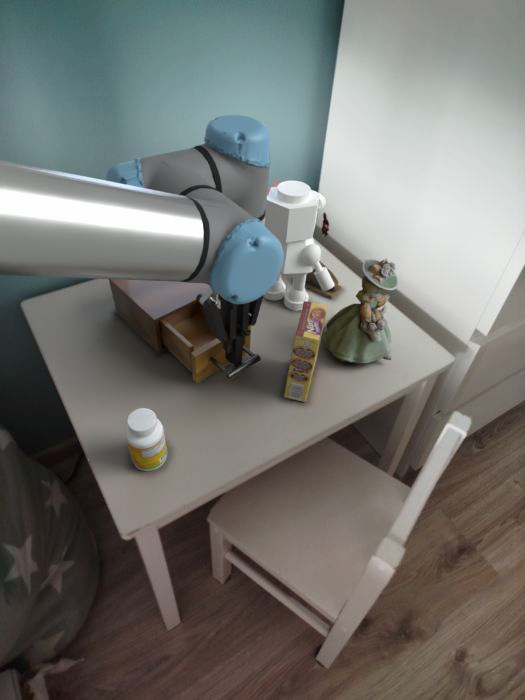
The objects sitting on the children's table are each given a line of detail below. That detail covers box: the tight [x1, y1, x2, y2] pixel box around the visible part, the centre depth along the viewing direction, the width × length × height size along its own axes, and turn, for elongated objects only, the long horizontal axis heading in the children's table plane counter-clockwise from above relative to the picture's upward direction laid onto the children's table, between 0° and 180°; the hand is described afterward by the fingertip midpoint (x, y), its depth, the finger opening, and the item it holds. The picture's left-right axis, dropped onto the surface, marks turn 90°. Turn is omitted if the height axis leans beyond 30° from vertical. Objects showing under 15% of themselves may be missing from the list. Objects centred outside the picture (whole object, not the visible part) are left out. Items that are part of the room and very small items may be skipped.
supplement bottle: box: [124, 407, 168, 472], centre depth 68 cm, size 5×5×10 cm
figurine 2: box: [304, 260, 342, 300], centre depth 102 cm, size 14×4×9 cm, turn 56°
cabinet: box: [108, 279, 210, 355], centre depth 91 cm, size 16×14×9 cm
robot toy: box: [263, 179, 335, 312], centre depth 92 cm, size 22×12×25 cm, turn 58°
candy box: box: [283, 301, 328, 403], centre depth 78 cm, size 9×4×15 cm, turn 167°
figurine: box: [322, 257, 399, 365], centre depth 83 cm, size 14×14×20 cm
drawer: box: [159, 302, 262, 384], centre depth 84 cm, size 20×12×7 cm, turn 43°
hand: (233, 360), depth 80 cm, fingers closed
